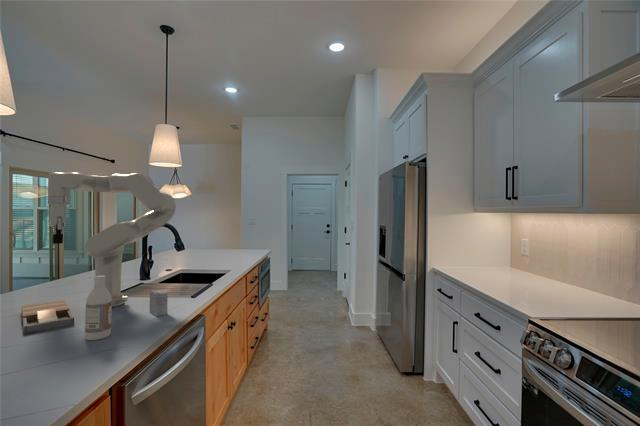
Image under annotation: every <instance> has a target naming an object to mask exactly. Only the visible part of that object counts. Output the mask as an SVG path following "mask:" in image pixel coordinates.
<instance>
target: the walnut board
mask: <svg viewBox="0 0 640 426" xmlns="http://www.w3.org/2000/svg"><path fill="white" fill-rule="evenodd" d="M50 309H56V316H57V317H62V316H67V311H69V310H70V307H69V306H68V303H67V302H66V300H65V299H63V300H56V301H50V302H49V301H48V302H40V303H34V304H26V305H21V322H22V323H21V324H23V318H25V317H26V319H27V322H32V321H37V311H44V310H50ZM70 311H71V310H70Z"/></svg>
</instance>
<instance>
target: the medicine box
mask: <svg viewBox="0 0 640 426" xmlns="http://www.w3.org/2000/svg"><path fill="white" fill-rule="evenodd" d="M168 299H169V298H168V293H167V292H165V291H163V290H161V289H160V290H159V289H157V290H152V291H149V307H148V308H149V311H148V312H149V313H150V314H152V315H154V317H160V316H165V315H168Z"/></svg>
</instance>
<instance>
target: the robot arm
mask: <svg viewBox="0 0 640 426" xmlns="http://www.w3.org/2000/svg"><path fill="white" fill-rule="evenodd" d="M47 182H48V183H47V185H48V187H47V205H50V206H49V207H50V209H49V222H48V226H49V227H50V228H53V234H52V244H54V245H55V244H63V243H64V233H63V232H64V228H65V227H66V224H67V215H68V214H67V213H68V212H67V211H68V206H70V205H71V193H72V190H75V191H82V192H87V193H88V192H89V193H90V192H91V193H92V192H93V193H112V194H131V195H133V197H135V198H136V200H138V201H139V202H140V203H141V204H143V206H144V207H146V208H147V209H149V210H151V211H148V212H146V213H144V214H143V215H141V216H139V217H136V218H134V219H133V220H129V221H121V222H119V221H118V222H117V223H115V224H112V225H110V226H109V227H106V228H105V229H103V230H102V231H100V232H97V233H96V234H93V235H92V236H90V237H89V238H88V239H87V240H86V241H85V244H84V250H85V252H86V254H87V255H89V256H90V257H93V258H96V261H95V270H94V271H95V273H94V274H95V275H94V277H95V276H101V275H104V276H105V287H106V288H107V290H108V291H109V292H110V294H111V297H112V308H115V307H119V306H121V305H123V304H124V303H125V302H128V299H129V295H128V296H127V295H125V296H124V293H123V292H121V290H122V266H123V265H122V264H123V256H124V249H125V246H126V245H128V244H131V243H136V242H138V241H139V240H141V239H143V238H144V237H146V236H148V235H149V234H151V233H153V232H155V231H157V230H158V229H160V228H161V227H162V226H165V225H166V224H168V222H169V221H170V220H172V218H173V216H174V215H175V213H176V208H177V207H176V201H175V199H174V197H173V196H171V195H170V194H168V193H166V192H161V191H159V189H157V188H156V187H155V184H154V180H153V179H152V178H151V177H150V176H148V175H146V174H143V173H139V172H133V173H130V174H126V173H125V174H124V173H113V174H111V175H109V176H108V175H104V176H103V175H101V176H100V175H92V174H91V175H89V174H87V173H86V174H85V173H80V172H58V171H57V172H50V173H49V174H48V181H47Z"/></svg>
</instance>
